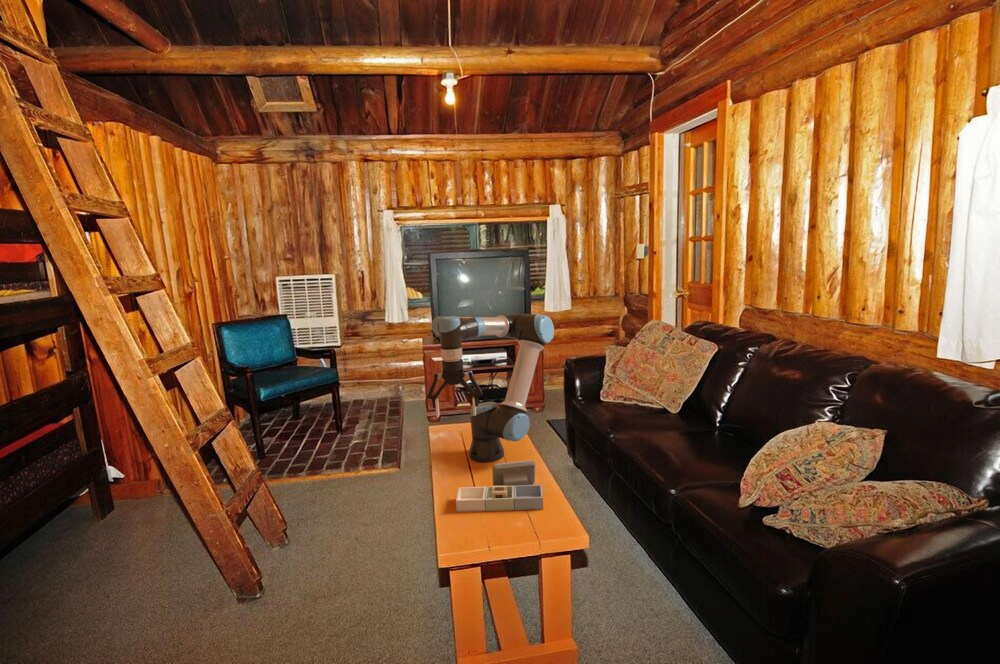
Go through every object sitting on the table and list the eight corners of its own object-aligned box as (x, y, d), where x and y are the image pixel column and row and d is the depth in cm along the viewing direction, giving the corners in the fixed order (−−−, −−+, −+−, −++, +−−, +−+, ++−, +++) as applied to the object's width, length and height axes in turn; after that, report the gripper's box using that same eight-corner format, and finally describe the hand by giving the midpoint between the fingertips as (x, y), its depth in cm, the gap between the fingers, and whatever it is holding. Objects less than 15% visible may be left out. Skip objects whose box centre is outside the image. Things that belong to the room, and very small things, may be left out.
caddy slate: (515, 496, 190) (514, 485, 190) (542, 495, 190) (541, 484, 189) (514, 510, 181) (514, 498, 180) (543, 509, 180) (542, 497, 180)
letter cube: (493, 498, 188) (492, 485, 187) (507, 498, 188) (506, 485, 187) (492, 505, 183) (491, 492, 182) (506, 505, 183) (506, 492, 182)
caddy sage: (487, 497, 191) (486, 486, 190) (514, 496, 190) (513, 485, 190) (485, 511, 181) (484, 499, 180) (514, 510, 181) (513, 498, 180)
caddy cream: (459, 498, 191) (459, 487, 190) (486, 497, 191) (486, 486, 190) (456, 512, 182) (455, 500, 181) (485, 511, 181) (484, 499, 180)
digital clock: (536, 482, 201) (535, 456, 199) (536, 493, 192) (535, 466, 190) (494, 483, 202) (492, 456, 200) (492, 494, 193) (490, 467, 191)
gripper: (416, 363, 187) (421, 420, 191) (486, 359, 187) (489, 417, 190) (419, 358, 195) (424, 413, 198) (487, 355, 194) (490, 410, 198)
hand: (456, 415), depth 194 cm, fingers open, 13 cm apart
